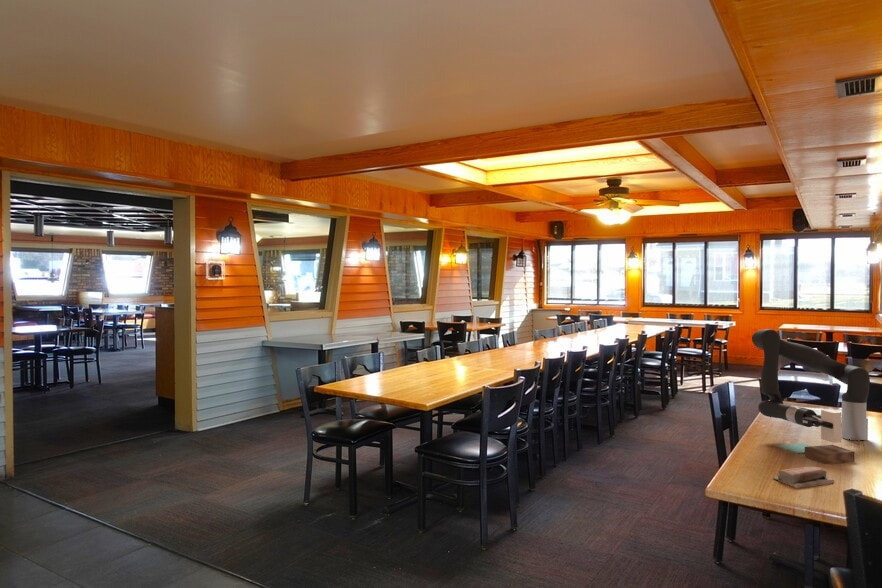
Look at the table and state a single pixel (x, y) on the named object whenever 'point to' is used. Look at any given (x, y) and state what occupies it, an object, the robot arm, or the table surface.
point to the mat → (795, 448)
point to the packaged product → (804, 477)
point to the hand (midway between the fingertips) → (836, 425)
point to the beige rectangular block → (834, 433)
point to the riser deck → (829, 454)
